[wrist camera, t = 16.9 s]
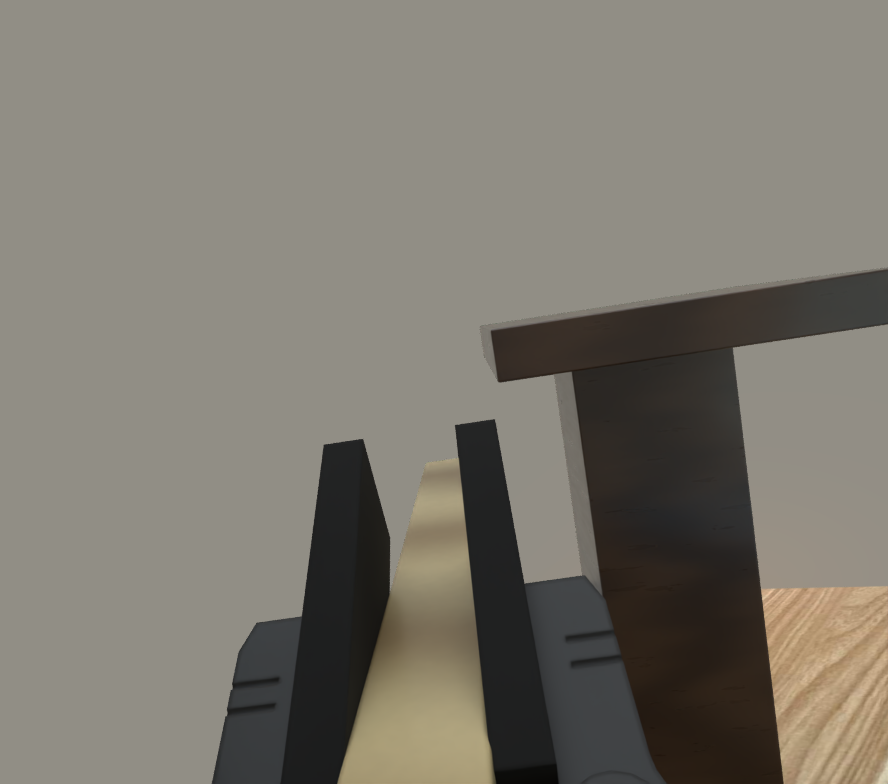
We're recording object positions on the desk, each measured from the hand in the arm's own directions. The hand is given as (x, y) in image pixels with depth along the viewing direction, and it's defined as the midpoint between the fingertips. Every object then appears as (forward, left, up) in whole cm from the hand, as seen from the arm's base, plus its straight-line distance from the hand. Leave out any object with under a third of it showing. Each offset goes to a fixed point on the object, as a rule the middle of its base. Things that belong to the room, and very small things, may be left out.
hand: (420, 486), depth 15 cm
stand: (+8, +13, -26) cm, 30 cm away
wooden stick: (0, +3, -4) cm, 5 cm away
